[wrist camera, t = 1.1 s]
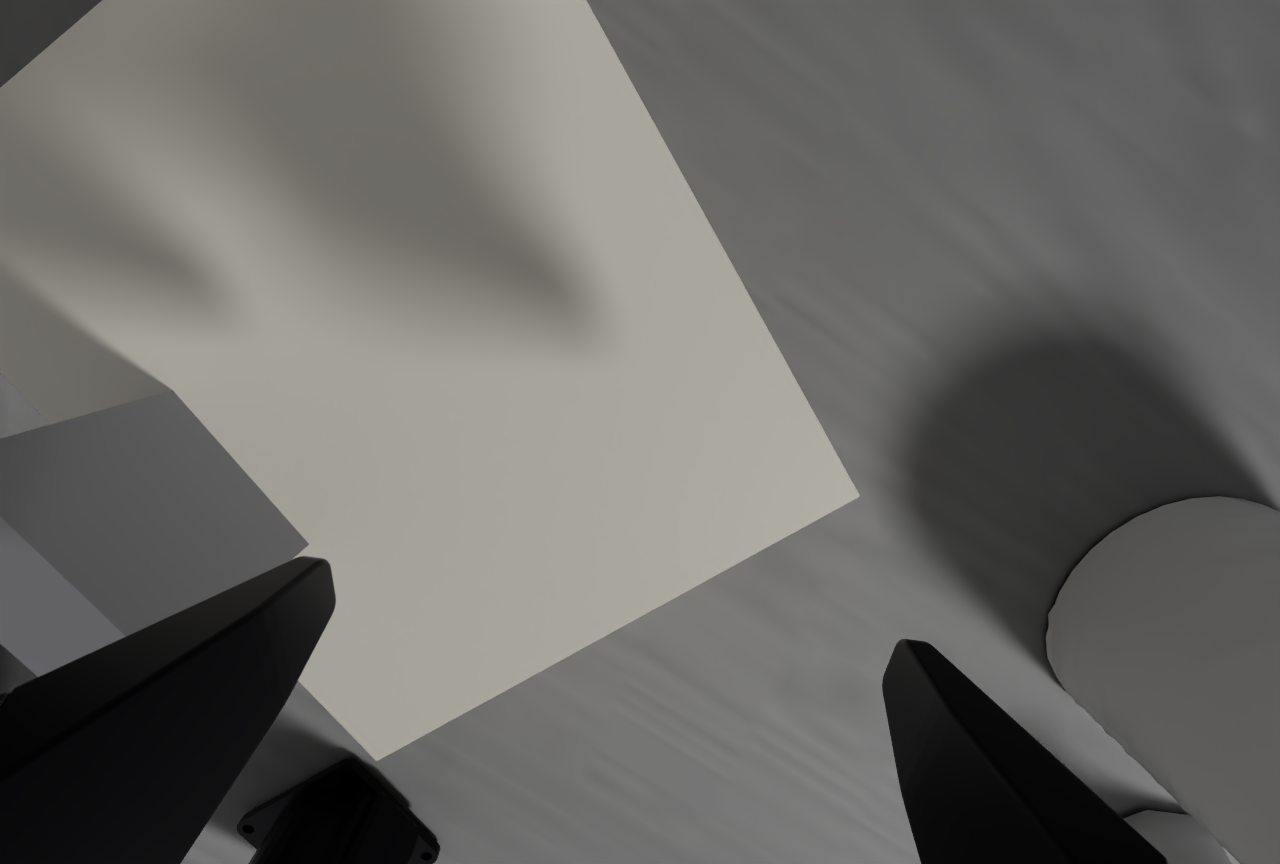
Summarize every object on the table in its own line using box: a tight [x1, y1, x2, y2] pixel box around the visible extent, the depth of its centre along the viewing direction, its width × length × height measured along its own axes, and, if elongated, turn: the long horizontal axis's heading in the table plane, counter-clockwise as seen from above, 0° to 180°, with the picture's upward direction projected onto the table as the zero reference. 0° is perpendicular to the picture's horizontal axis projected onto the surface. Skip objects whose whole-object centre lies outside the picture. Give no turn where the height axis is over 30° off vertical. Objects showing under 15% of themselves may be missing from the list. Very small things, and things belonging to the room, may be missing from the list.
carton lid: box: [0, 0, 860, 761], centre depth 12 cm, size 16×18×6 cm
